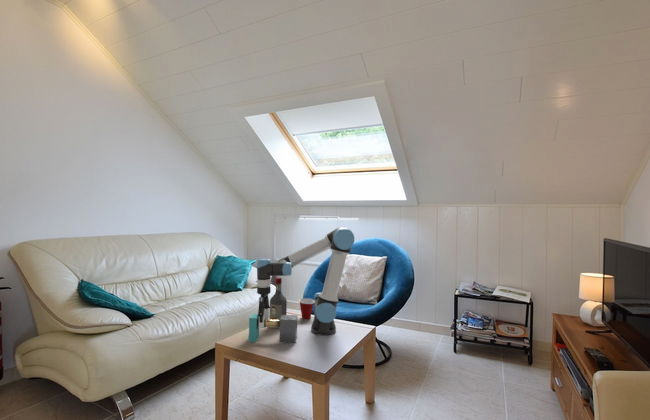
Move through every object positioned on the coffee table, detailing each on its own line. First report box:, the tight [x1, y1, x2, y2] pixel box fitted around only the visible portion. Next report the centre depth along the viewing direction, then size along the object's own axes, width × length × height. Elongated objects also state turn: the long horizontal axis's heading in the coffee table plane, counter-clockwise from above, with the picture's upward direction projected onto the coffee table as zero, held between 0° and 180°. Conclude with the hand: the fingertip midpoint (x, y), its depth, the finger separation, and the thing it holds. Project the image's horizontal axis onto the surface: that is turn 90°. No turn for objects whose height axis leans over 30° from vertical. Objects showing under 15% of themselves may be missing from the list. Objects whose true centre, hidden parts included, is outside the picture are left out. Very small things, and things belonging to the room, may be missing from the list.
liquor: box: [269, 277, 288, 329], centre depth 217 cm, size 9×9×30 cm
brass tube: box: [257, 319, 280, 329], centre depth 194 cm, size 18×5×5 cm, turn 89°
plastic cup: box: [298, 298, 315, 320], centre depth 234 cm, size 11×11×12 cm
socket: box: [248, 313, 260, 343], centre depth 194 cm, size 4×8×13 cm, turn 179°
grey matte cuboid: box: [278, 314, 298, 344], centre depth 194 cm, size 9×8×13 cm
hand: (263, 323), depth 194 cm, fingers open, 13 cm apart
